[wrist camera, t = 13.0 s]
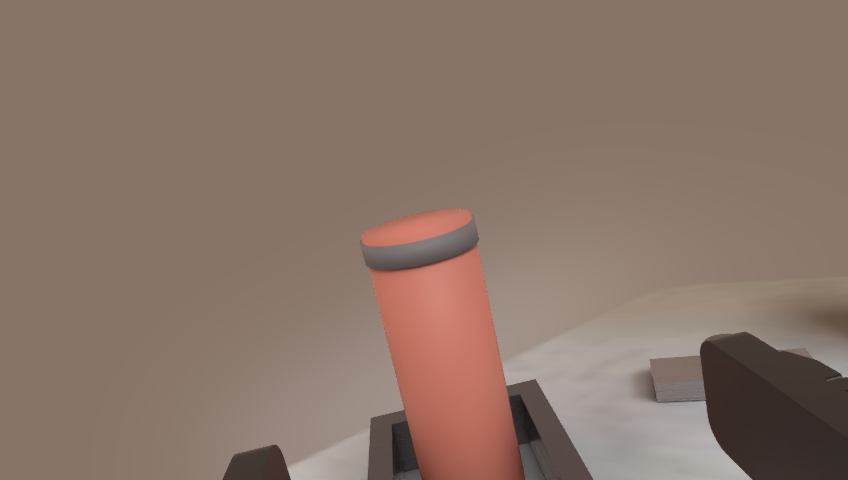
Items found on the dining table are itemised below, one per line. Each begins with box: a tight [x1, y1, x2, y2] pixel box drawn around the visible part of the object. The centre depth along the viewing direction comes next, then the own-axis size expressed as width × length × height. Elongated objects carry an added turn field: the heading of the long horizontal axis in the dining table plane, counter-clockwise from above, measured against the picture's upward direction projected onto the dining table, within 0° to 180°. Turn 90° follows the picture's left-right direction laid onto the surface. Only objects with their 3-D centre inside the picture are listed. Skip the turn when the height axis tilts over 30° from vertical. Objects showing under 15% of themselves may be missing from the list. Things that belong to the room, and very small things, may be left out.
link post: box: [360, 209, 525, 480], centre depth 22 cm, size 4×4×12 cm
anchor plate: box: [650, 334, 813, 402], centre depth 27 cm, size 7×2×2 cm, turn 74°
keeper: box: [368, 379, 593, 480], centre depth 23 cm, size 8×8×5 cm
